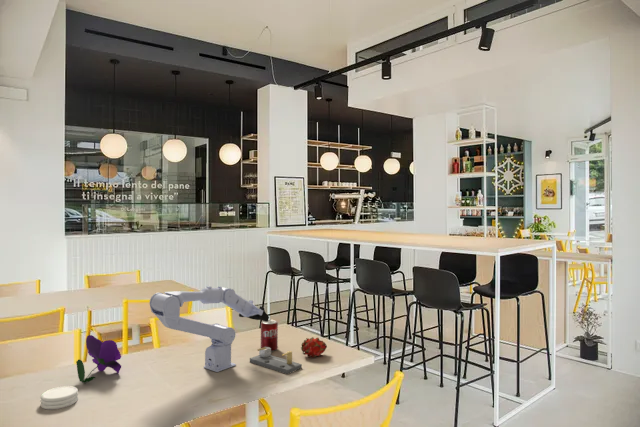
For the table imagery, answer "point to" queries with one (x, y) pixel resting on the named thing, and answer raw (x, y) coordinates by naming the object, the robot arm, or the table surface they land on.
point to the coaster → (59, 397)
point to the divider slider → (264, 352)
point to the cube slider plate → (277, 363)
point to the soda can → (269, 334)
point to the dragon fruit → (313, 347)
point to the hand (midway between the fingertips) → (261, 318)
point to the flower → (100, 356)
